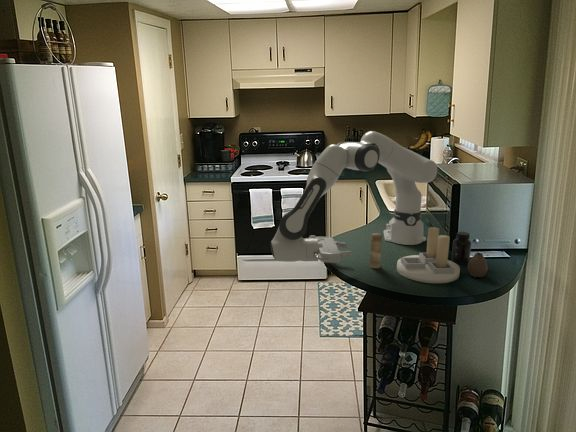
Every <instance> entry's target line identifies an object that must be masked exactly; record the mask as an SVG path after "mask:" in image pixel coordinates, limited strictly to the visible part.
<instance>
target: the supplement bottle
mask: <svg viewBox="0 0 576 432" xmlns="http://www.w3.org/2000/svg"><path fill="white" fill-rule="evenodd" d="M471 250H472V241H471V240H470V233H469V232H466V231H457V232H456V238H455V239H454V240H453V242H452V252H451V261H452V262H454V263H456V264H457V265H468V264H467V263H468V262H469V260H470V259H471V252H472V251H471Z"/></svg>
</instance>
